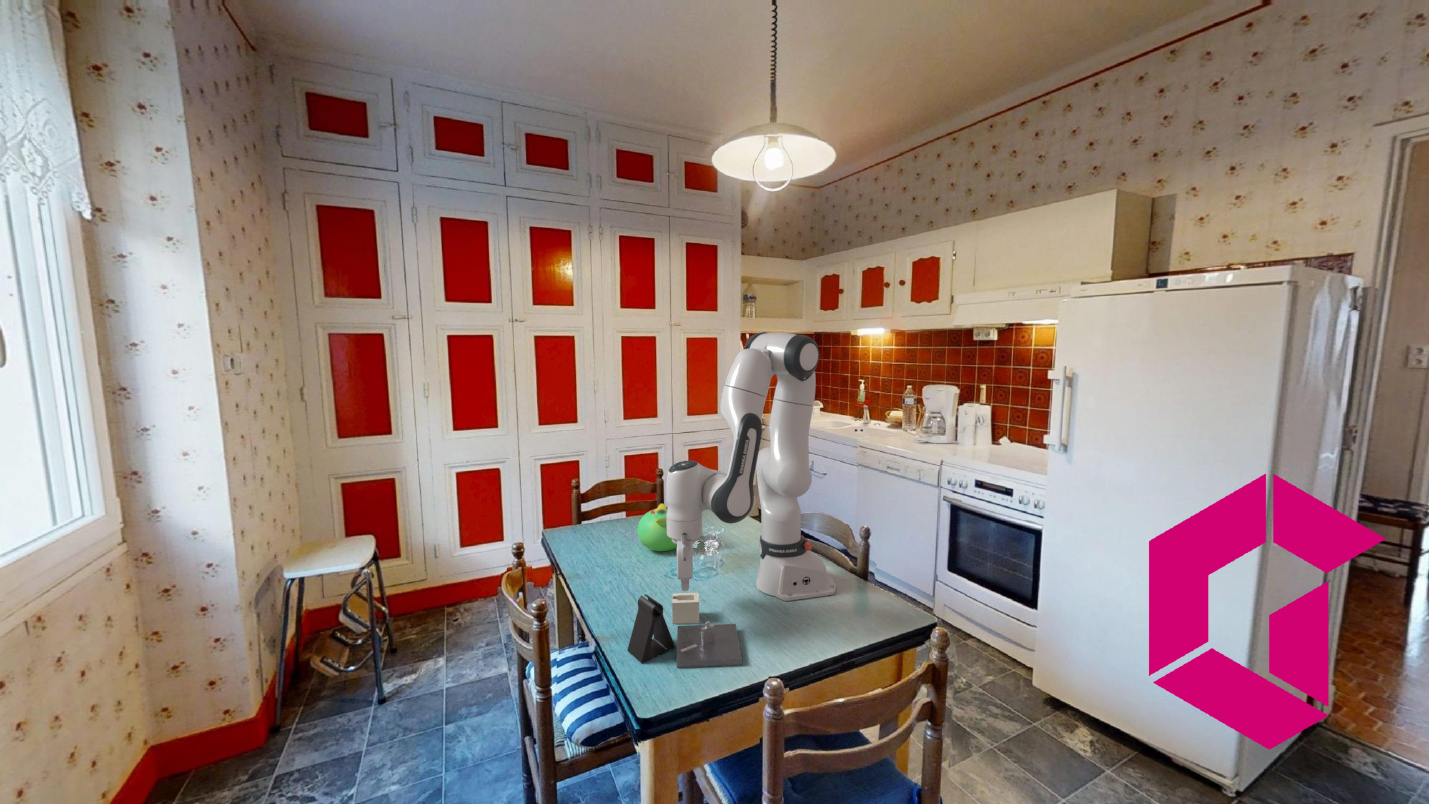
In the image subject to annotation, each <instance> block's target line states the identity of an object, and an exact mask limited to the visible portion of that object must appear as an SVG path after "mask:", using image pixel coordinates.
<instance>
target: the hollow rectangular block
mask: <svg viewBox="0 0 1429 804" xmlns="http://www.w3.org/2000/svg"><path fill="white" fill-rule="evenodd" d="M699 596H700V595H699V592H684V593H683V592H680V593H679V592H678V593H676V592H674V593H672V604H671V605H672V607H671V609H672V625H682V624H700V597H699Z"/></svg>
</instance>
